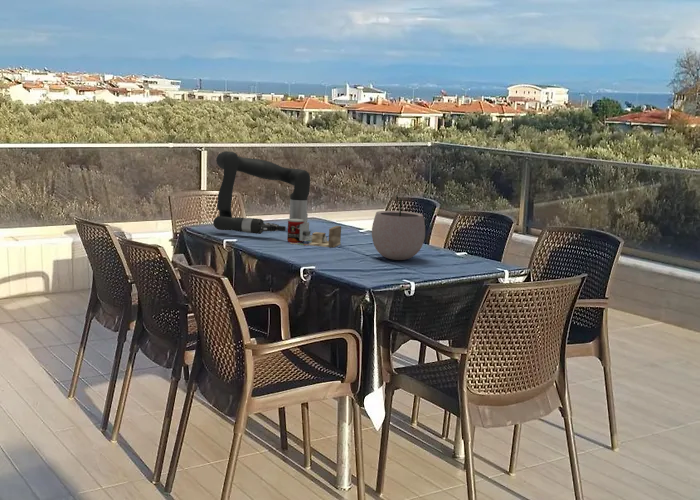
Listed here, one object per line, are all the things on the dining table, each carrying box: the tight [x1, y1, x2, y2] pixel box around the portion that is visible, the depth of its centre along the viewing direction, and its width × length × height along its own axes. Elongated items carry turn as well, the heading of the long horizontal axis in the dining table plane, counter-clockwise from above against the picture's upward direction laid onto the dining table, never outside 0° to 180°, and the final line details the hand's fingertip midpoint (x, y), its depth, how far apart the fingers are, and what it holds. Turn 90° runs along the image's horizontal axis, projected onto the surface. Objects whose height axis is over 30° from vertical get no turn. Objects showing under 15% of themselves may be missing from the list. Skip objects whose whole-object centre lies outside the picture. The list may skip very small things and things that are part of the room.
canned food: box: [286, 218, 304, 244], centre depth 402 cm, size 8×8×11 cm
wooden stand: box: [289, 225, 342, 248], centre depth 399 cm, size 22×15×9 cm
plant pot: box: [371, 193, 426, 261], centre depth 366 cm, size 24×24×30 cm
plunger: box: [299, 221, 328, 242], centre depth 399 cm, size 12×9×8 cm
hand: (285, 228), depth 403 cm, fingers closed
